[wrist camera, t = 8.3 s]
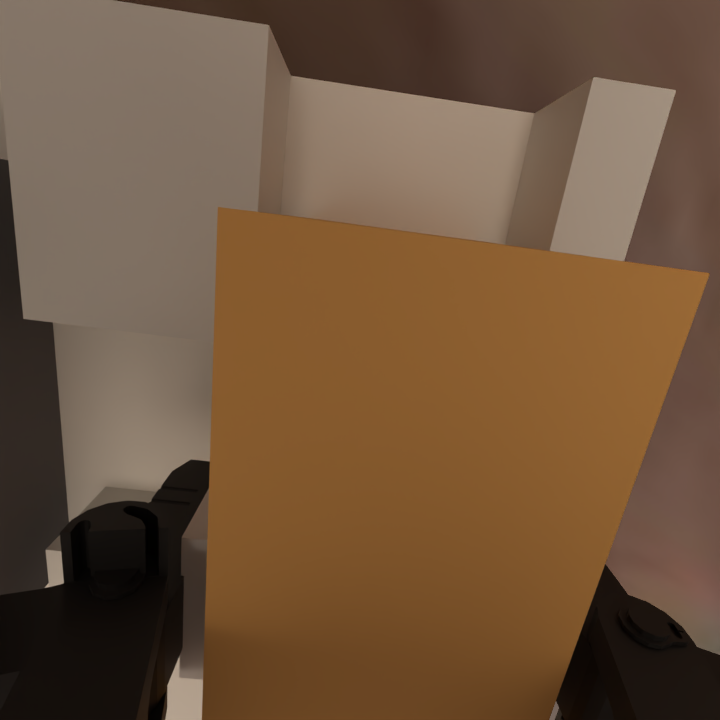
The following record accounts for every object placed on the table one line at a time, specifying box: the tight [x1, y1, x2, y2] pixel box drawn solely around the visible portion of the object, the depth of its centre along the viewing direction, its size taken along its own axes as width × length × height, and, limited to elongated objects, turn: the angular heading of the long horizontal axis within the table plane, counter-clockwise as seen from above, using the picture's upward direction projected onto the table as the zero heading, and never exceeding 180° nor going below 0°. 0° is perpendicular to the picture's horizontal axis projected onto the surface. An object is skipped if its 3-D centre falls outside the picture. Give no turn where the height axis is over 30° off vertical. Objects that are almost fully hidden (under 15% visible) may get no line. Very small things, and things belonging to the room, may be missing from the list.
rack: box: [0, 0, 676, 720], centre depth 12 cm, size 18×20×4 cm
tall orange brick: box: [202, 207, 710, 720], centre depth 10 cm, size 12×4×8 cm, turn 173°
